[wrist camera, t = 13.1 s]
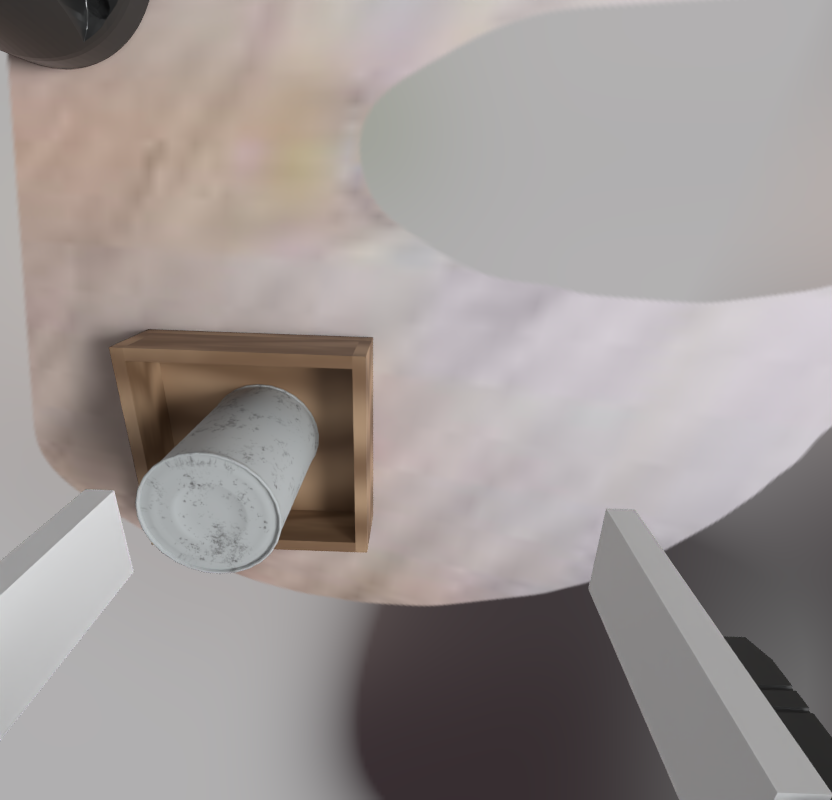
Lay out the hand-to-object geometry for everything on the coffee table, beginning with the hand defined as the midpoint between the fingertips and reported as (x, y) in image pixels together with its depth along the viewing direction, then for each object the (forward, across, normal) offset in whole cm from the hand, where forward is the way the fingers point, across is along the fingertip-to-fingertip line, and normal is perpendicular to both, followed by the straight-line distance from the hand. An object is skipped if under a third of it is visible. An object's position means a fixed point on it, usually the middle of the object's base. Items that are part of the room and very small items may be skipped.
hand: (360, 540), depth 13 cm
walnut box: (+29, -12, -11) cm, 33 cm away
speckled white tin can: (+28, -12, -11) cm, 32 cm away
